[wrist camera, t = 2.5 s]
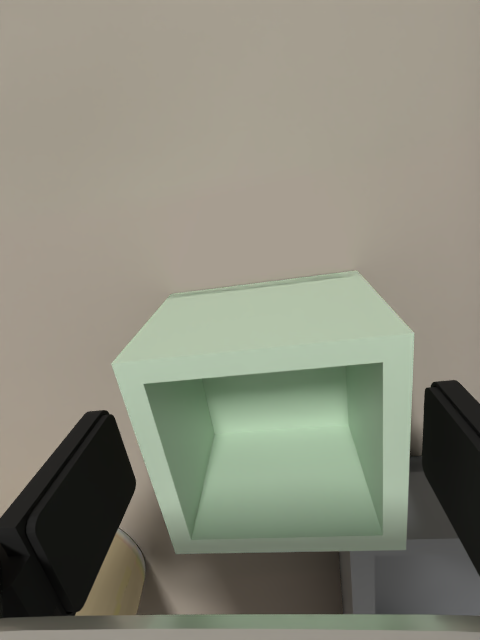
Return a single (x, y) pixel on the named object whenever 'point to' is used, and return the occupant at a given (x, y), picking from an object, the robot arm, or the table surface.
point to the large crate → (414, 565)
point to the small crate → (275, 416)
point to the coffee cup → (117, 580)
